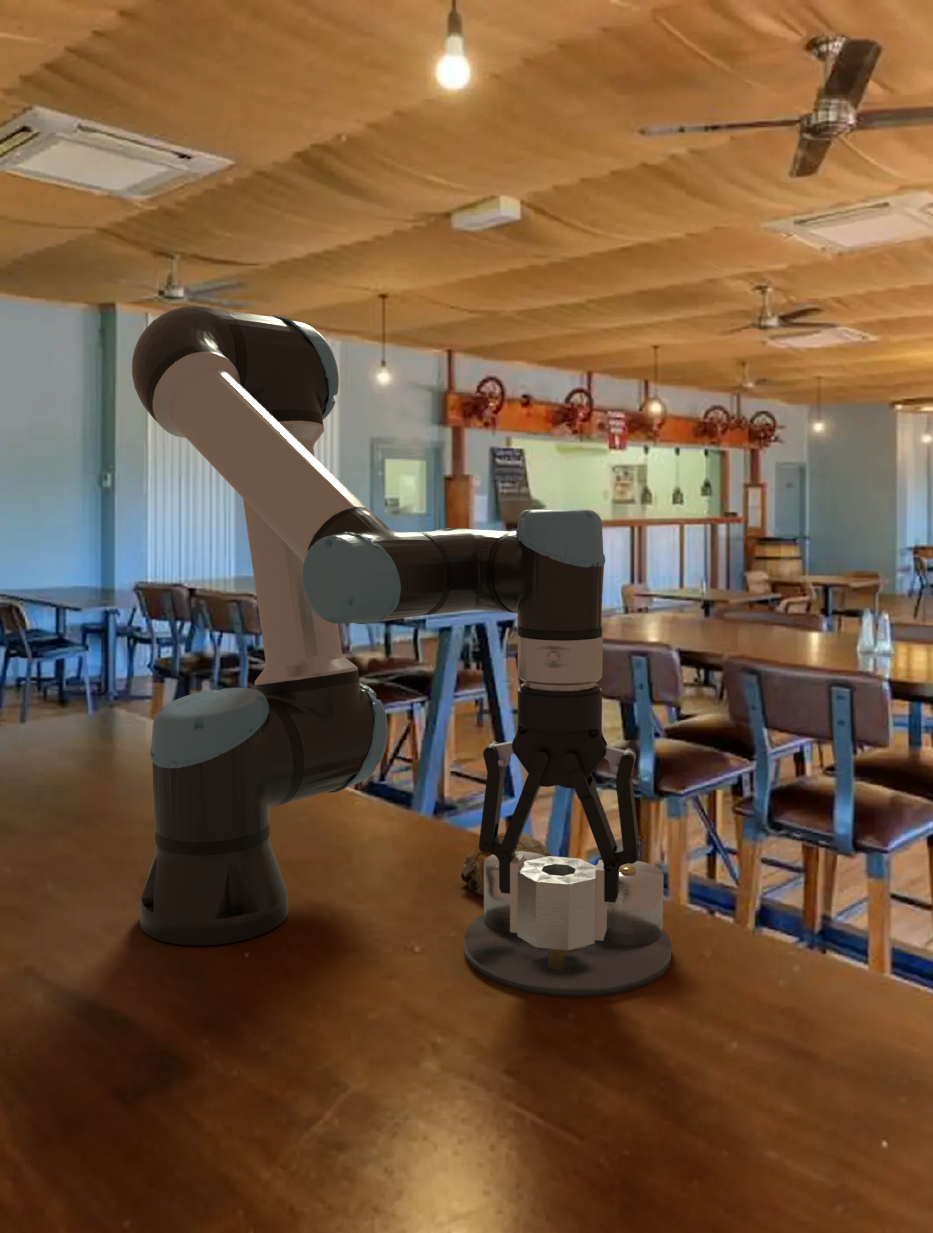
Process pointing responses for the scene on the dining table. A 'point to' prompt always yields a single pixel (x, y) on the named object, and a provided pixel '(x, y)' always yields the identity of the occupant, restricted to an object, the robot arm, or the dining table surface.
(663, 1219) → the dining table surface
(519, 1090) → the dining table surface
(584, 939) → the octagonal metal nut
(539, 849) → the bread roll
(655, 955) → the carrier
